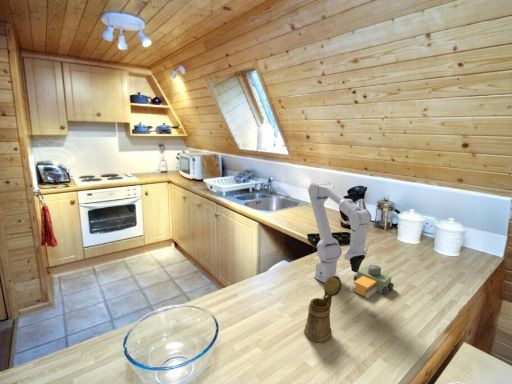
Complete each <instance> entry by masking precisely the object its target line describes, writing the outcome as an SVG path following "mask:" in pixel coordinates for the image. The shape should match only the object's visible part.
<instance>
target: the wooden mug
mask: <svg viewBox="0 0 512 384" xmlns="http://www.w3.org/2000/svg"><path fill="white" fill-rule="evenodd" d="M338 276H339V275H337V276H333V277H330V278H328V279H327V280H326V282H325V283H324V285H323V291H324V296H323V297H322V298H321V297H320V298H318V297H315V298H312V299H311V300H310V303H309V305H308V314H307V318H306V323H305V325H304V329H303V333H304V336H305V337H306V338H307V339H309V340H310V341H313V342H314V343H319V344H320V343H327V342H329V341H330V340H331V339H332V327H331V307H332V299H333V297H334V296H336V295H338V294H339V293H340V291H341V290H342V281H341V279H340V278H339V277H340V276H339V277H338Z"/></svg>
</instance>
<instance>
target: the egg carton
mask: <svg viewBox="0 0 512 384" xmlns="http://www.w3.org/2000/svg"><path fill="white" fill-rule="evenodd" d="M331 234H332V237H333V238H334V239H336V240H337V241H338V244H339V245H347V244H350V238H351V231H350V232H349V231H339V232H338V231H336V232H331ZM306 237H307V241H309V242H310V243H311V245H312V246H316V247H317V244H318V243H319V241H320V240H321V239H320V235H319V232H317V233H316V232H315V233H307V234H306ZM327 245H330V244H326V245H325V246H327Z"/></svg>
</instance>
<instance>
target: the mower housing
mask: <svg viewBox="0 0 512 384" xmlns="http://www.w3.org/2000/svg"><path fill="white" fill-rule="evenodd" d="M362 276H366V277H368V278H371V279H373V280H375V281H377V283H376V284H374V287H373V288H372V289H370V290H369V291H368V292H366V294H365V296H364V298H366V299H369V298H370V297H371V296H373V295H374V294H375V293H379V294H382V295H383V294H384V295H387V294H388V293H389V290H390V291H393V289H394V286H395V284H394V283H393V282H392V276H391V275H389V274H387V273H384V272H382V267H381V266H379V265H376V264H370V265H368V266H363V267H362V268H359V270H358V272H357V273H356V274H354V276H353V282H354V281H356V280H357V279H359V278H360V277H362ZM355 285H356V284H354V285H353V286H351V292H353V293H356V292H355Z"/></svg>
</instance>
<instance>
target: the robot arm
mask: <svg viewBox="0 0 512 384" xmlns="http://www.w3.org/2000/svg"><path fill="white" fill-rule="evenodd" d="M307 192H308V196H309V200H310V202H311V207H312V212H313V215H314V219H315V223H316V227H317V230H318V233H319V235H320V239H321V240H320V241H319V243H318V244H317V246H316V248H317V250H316V251H317V252H316V253H317V256H318V258H319V259H320V260H319V262H317V263H316V265H315V273H314V274H315V275H313V279H316V280H317V281H320V282H322V283H324V284H325V282H326V280H327V279H328V278H330V277H333V276H338V277H339V279H340V276H339V275H337V267H338V260H339V258H340V257H341V256H342V254H343V253H342V252H343V251H342V247H341V246H340V243H339V244H338V241H337V240H336V239H334V238H333V237H332V234H331V233H332V231H331V226H330V224H329V220H328V215H327V212H326V208H325V202H326V201H327V200H328V199H330V200H332V201H333V202H334V203H336V205H338V209H339V210H340V212H342V213H343V214H344V215H345V216H347V217H348V220H349V223H350V229H351V230H350V233H351V238H350V243H349V248H348V250H347V251H346V253H344V258H343V259H344V260H348V261H349V263H350V268H351V269H350V270H351V271H352V272H354V273H355V274H357V272H358V271H359V270H360V269H361V268H360V267H361V265H362V263H363V262H364V260H365V258H366V256H367V255H368V250H369V246H368V245H366V241H367V240H366V239H367V231H368V224H370V223H371V221H372V214H371V211H369V210H368V209H366V208H361V206H360V205H359V206H358V205H357V204H356V203H355V202H354V201H353V199H352V198H345V197H344V196H343V195H342V194H341V193H339V191H337V190H336V189H335V186H334V184H332V183H331V182H330V181H326V182H313V183H311V184H310V185H309V187H308V190H307ZM326 244H330V245H326Z"/></svg>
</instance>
